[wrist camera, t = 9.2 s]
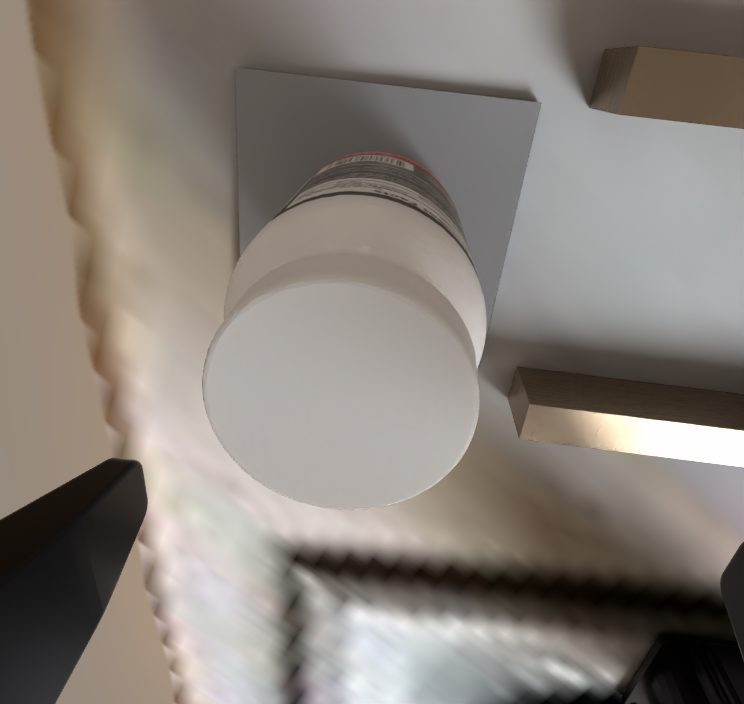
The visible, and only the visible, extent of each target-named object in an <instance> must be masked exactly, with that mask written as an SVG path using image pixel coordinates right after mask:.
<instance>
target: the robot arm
mask: <svg viewBox="0 0 744 704" xmlns="http://www.w3.org/2000/svg"><path fill="white" fill-rule="evenodd" d="M147 505H148V499H147V493H146V486H145V480H144V474H143V468H142V465H141V464H140V462H138V461H136V460H131V459H123V458H111V459H108V460H106V461H104V462H102V463H101V464H99V465H97V466H95V467H94V468H92V469H90V470H88V471H86V472H85V473H83V474H81V475H79V476H78V477H76V478H74V479H72V480H70V481H69V482H67V483H65V484H63V485H62V486H60V487H58V488H56V489H54V490H53V491H51V492H49V493H47V494H45V495H44V496H42V497H40V498H39V499H36V500H35V501H33V502H31V503H30V504H28V505H26V506H24V507H22V508H21V509H19V510H17V511H15V512H13V513H12V514H10V515H8V516H6V517H4V518H3V519H1V520H0V704H55V703H56V701H57V699H58V698H59V696H60V694H61V692H62V690H63V688H64V686H65V685H66V683H67V681H68V679H69V677H70V675H71V674H72V672H73V670H74V668H75V666H76V664H77V662H78V661H79V659H80V657H81V655H82V653H83V652H84V650H85V648H86V646H87V644H88V642H89V641H90V639H91V637H92V635H93V633H94V631H95V629H96V627H97V625H98V624H99V622H100V620H101V618H102V616H103V614H104V612H105V610H106V607H107V605H108V603H109V600H110V598H111V596H112V594H113V591H114V589H115V587H116V584H117V582H118V579H119V577H120V575H121V572H122V570H123V568H124V565H125V563H126V560H127V558H128V555H129V553H130V551H131V548H132V546H133V544H134V541H135V539H136V536H137V534H138V532H139V529H140V527H141V525H142V522H143V520H144V517H145V515H146V511H147ZM720 586H721V593H722V596H723V599H724V602H725V605H726V608H727V611H728V615H729V618H730V621H731V624H732V627H733V630H734V633H735V636H736V639H737V642H738V643H737V642H729V641H722V640H714V639H706V638H699V637H691V636H683V635H676V634H665V635H662V636H660V637H659V638H658V639H657V641H656V643H655V644H654V646H653V647H652V649H651V651H650V652H649V654H648V655H647V657H646V659H645V660H644V662H643V663H642V665H641V667H640V668H639V670H638V671H637V673H636V675H635V676H634V678H633V679H632V681H631V683H630V684H629V686H628V687H627V689H626V691H625V692H624V694H623V695H622V701H623V704H744V542H743V543H742V544H741V545H740V547H739V548H738V550H737V551H736V553H735V555H734V556H733V558H732V559H731V561H730V562H729V564H728V566H727V567H726V569H725V570H724V572H723V574H722V576H721V582H720Z"/></svg>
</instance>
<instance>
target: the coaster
mask: <svg viewBox="0 0 744 704" xmlns="http://www.w3.org/2000/svg"><path fill="white" fill-rule="evenodd" d="M235 97H236V133H237V168H238V204H239V240H240V257H241V255H242V254H243V252H244V250H245V249H246V248H247V246H248V245H249V244H250V242H251V241H252V240H253V239H254V238H255V237H256V235H257V234H258V233H259V232H260V231H261V230H262V229H263V228H264V227H265V226H266V225H267V223H268V222H269V221H270V220H271V219H272V218H273V217H274V216H275V215H276V214H277V213H278V212H279V211H280V210H281V209H282V208H283V207H284V206H285V205H286V204H287V203H288V202H289V200H290V199H291V198H292V197H293V196H294V195H295V194H296V193H297V192H298V191H299V190H300V188H301V187H302V186H303V185H304V184H305V183H306V182H307V181H308V180H309V179H310V178H311V177H312V176H313V175H314V174H315V173H316V172H317V171H318V170H320V169H321V168H323V167H324V166H325V165H327V164H329V163H331V162H332V161H335V160H337V159H339V158H342V157H344V156H347V155H351V154H355V153H362V152H384V153H390V154H394V155H398V156H401V157H404V158H406V159H409V160H411V161H413V162H415V163H417V164H418V165H420V166H422V167H423V168H424V169H426V170H427V171H429V172H430V173H431V174H432V175H433V176H434V177H435V178H436V179H437V180H438V181H439V182H440V183H441V185H442V186H443V187H444V188H445V190H446V191H447V193H448V194H449V196H450V198H451V199H452V201H453V203H454V205H455V208H456V210H457V212H458V216H459V219H460V222H461V226H462V229H463V232H464V235H465V238H466V241H467V244H468V247H469V250H470V253H471V257H472V259H473V262H474V265H475V268H476V271H477V273H478V277H479V280H480V283H481V286H482V291H483V296H484V301H485V307H486V318H487V319H486V336H487V332H488V328H489V324H490V319H491V315H492V311H493V307H494V302H495V298H496V294H497V290H498V285H499V281H500V277H501V273H502V268H503V264H504V260H505V256H506V251H507V247H508V243H509V239H510V234H511V230H512V226H513V222H514V217H515V213H516V209H517V205H518V200H519V196H520V192H521V188H522V183H523V179H524V175H525V171H526V166H527V162H528V158H529V154H530V149H531V145H532V141H533V137H534V132H535V128H536V124H537V120H538V115H539V111H540V107H541V103H540V102H534V101H526V100H517V99H508V98H499V97H491V96H482V95H473V94H464V93H456V92H447V91H438V90H429V89H421V88H412V87H403V86H394V85H386V84H377V83H368V82H360V81H351V80H342V79H333V78H325V77H316V76H307V75H298V74H290V73H281V72H272V71H263V70H255V69H246V68H235ZM485 341H486V338H485ZM481 358H482V357H481ZM480 362H481V360H480ZM479 366H480V363H479V365H478V367H479Z"/></svg>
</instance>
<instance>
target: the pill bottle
mask: <svg viewBox="0 0 744 704" xmlns="http://www.w3.org/2000/svg"><path fill="white" fill-rule="evenodd" d="M486 319H487V318H486V307H485V301H484V296H483V291H482V286H481V283H480V280H479V277H478V273H477V271H476V268H475V265H474V262H473V259H472V257H471V253H470V250H469V247H468V244H467V241H466V238H465V235H464V232H463V229H462V226H461V222H460V219H459V216H458V212H457V210H456V208H455V205H454V203H453V201H452V199H451V198H450V196H449V194H448V193H447V191H446V190H445V188H444V187H443V186H442V185H441V183H440V182H439V181H438V180H437V179H436V178H435V177H434V176H433V175H432V174H431V173H430V172H429V171H427V170H426V169H424V168H423V167H422V166H420V165H418V164H417V163H415V162H413V161H411V160H409V159H406V158H404V157H401V156H398V155H394V154H390V153H384V152H362V153H355V154H351V155H347V156H344V157H342V158H339V159H337V160H335V161H332V162H331V163H329V164H327V165H325V166H324V167H323V168H321V169H320V170H318V171H317V172H316V173H315V174H314V175H313V176H312V177H311V178H310V179H309V180H308V181H307V182H306V183H305V184H304V185H303V186H302V187H301V188H300V190H299V191H298V192H297V193H296V194H295V195H294V196H293V197H292V198H291V199H290V200H289V202H288V203H287V204H286V205H285V206H284V207H283V208H282V209H281V210H280V211H279V212H278V213H277V214H276V215H275V216H274V217H273V218H272V219H271V220H270V221H269V222H268V223H267V225H266V226H265V227H264V228H263V229H262V230H261V231H260V232H259V233H258V234H257V235H256V237H255V238H254V239H253V240H252V241H251V242H250V244H249V245H248V246H247V248H246V249H245V250H244V252H243V254H242V255H241V257H240V259H239V260H238V262H237V264H236V266H235V268H234V270H233V273H232V275H231V278H230V281H229V285H228V288H227V292H226V298H225V305H224V322H223V323H222V324H221V326H220V327H219V329H218V331H217V332H216V334H215V336H214V338H213V340H212V342H211V344H210V347H209V349H208V352H207V356H206V360H205V364H204V370H203V379H202V387H203V400H204V403H205V409H206V413H207V416H208V418H209V421H210V424H211V426H212V428H213V431H214V433H215V435H216V436H217V438H218V440H219V441H220V443H221V445H222V446H223V448H224V449H225V450H226V452H227V453H228V454H229V455H230V457H231V458H232V459H233V460H234V461H235V462H236V463H237V464H238V465H239V466H240V467H241V468H242V469H243V470H244V471H245V472H246V473H248V474H249V475H250V476H251V477H252V478H253V479H255V480H257V481H258V482H259V483H261V484H262V485H264V486H266V487H267V488H269V489H271V490H273V491H275V492H277V493H279V494H281V495H283V496H285V497H288V498H290V499H293V500H295V501H298V502H302V503H305V504H310V505H314V506H318V507H322V508H330V509H339V510H365V509H372V508H378V507H384V506H388V505H392V504H396V503H399V502H402V501H405V500H407V499H410V498H412V497H414V496H417V495H418V494H420V493H422V492H424V491H426V490H428V489H429V488H431V487H432V486H434V485H435V484H436V483H438V482H439V481H440V480H441V479H443V478H444V477H445V476H446V475H447V474H448V473H449V472H450V471H451V470H452V469H453V468H454V467H455V466H456V465H457V464H458V462H459V461H460V460H461V458H462V457H463V455H464V453H465V452H466V450H467V448H468V446H469V444H470V442H471V440H472V438H473V435H474V431H475V428H476V425H477V421H478V416H479V404H480V398H479V384H478V375H477V368H478V365H479V363H480V360H481V357H482V354H483V350H484V345H485V338H486Z"/></svg>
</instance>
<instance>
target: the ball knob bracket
mask: <svg viewBox="0 0 744 704" xmlns="http://www.w3.org/2000/svg"><path fill="white" fill-rule="evenodd" d="M589 108H592V109H597V110H601V111H605V112H610V113H614V114H619V115H627V116H636V117H645V118H653V119H662V120H671V121H680V122H688V123H697V124H706V125H715V126H723V127H732V128H741V129H744V58H741V57H732V56H723V55H715V54H706V53H697V52H688V51H679V50H670V49H661V48H652V47H643V46H634V47H624V48H614V49H605V52H604V56H603V59H602V63H601V67H600V70H599V74H598V77H597V81H596V85H595V88H594V92H593V95H592V99H591V103H590V106H589ZM508 400H509V404H510V407H511V411H512V415H513V418H514V422H515V425H516V429H517V432H518V436H519V439H523V440H531V441H539V442H547V443H555V444H563V445H571V446H579V447H587V448H595V449H603V450H611V451H619V452H627V453H635V454H643V455H651V456H659V457H667V458H675V459H683V460H691V461H699V462H707V463H715V464H723V465H731V466H739V467H744V395H742V394H734V393H726V392H718V391H709V390H701V389H693V388H685V387H677V386H669V385H661V384H652V383H644V382H636V381H628V380H620V379H612V378H603V377H595V376H587V375H579V374H571V373H563V372H555V371H546V370H538V369H530V368H522V367H517V369H516V373H515V376H514V380H513V384H512V387H511V391H510V394H509V398H508Z"/></svg>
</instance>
